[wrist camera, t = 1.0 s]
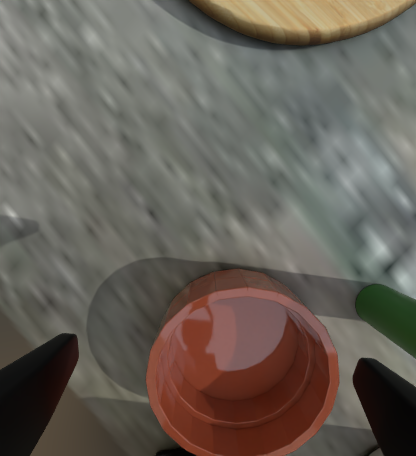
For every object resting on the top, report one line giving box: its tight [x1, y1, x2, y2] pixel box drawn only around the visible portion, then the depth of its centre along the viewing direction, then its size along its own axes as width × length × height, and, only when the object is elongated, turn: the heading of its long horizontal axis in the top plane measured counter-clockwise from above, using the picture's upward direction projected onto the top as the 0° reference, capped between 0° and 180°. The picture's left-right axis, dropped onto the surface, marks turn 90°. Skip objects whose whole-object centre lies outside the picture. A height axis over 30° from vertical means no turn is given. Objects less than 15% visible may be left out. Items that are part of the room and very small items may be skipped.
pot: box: [146, 269, 339, 456], centre depth 21 cm, size 16×16×6 cm
